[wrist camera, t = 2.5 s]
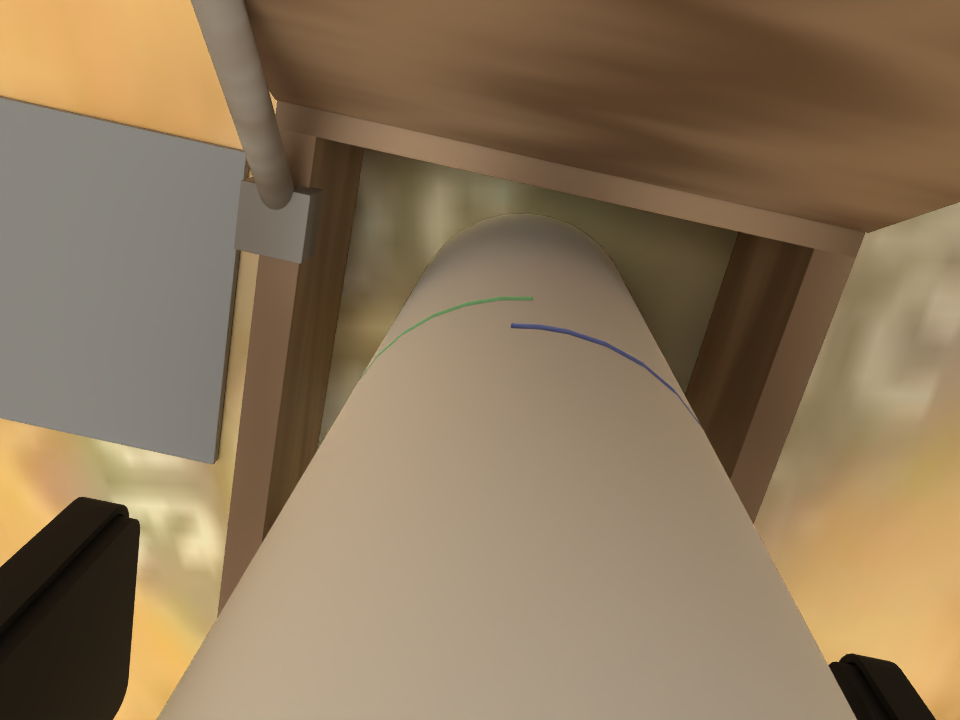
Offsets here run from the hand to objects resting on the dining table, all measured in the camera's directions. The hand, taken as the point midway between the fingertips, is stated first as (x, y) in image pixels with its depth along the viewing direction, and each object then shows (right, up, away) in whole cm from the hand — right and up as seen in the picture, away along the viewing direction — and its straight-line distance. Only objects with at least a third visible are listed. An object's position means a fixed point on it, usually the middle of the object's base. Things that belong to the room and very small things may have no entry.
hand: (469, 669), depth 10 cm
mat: (-14, +7, +15) cm, 22 cm away
